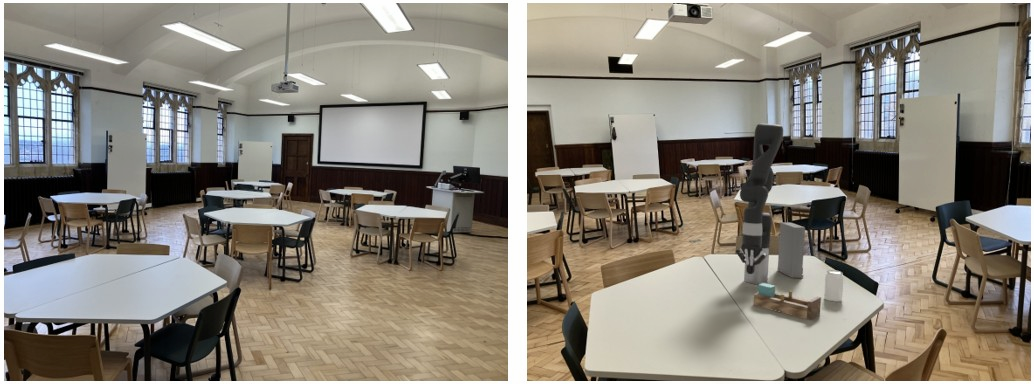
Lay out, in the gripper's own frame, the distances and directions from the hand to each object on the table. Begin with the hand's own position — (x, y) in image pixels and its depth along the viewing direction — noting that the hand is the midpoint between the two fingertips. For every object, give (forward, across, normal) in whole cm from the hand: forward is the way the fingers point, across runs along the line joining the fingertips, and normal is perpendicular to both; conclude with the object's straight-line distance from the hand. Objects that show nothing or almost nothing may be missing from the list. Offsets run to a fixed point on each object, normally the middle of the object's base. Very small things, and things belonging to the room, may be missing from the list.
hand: (750, 273), depth 218 cm
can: (+12, +22, +28) cm, 38 cm away
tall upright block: (+11, -6, +54) cm, 56 cm away
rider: (+9, +7, 0) cm, 11 cm away
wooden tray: (+12, +15, 0) cm, 19 cm away
